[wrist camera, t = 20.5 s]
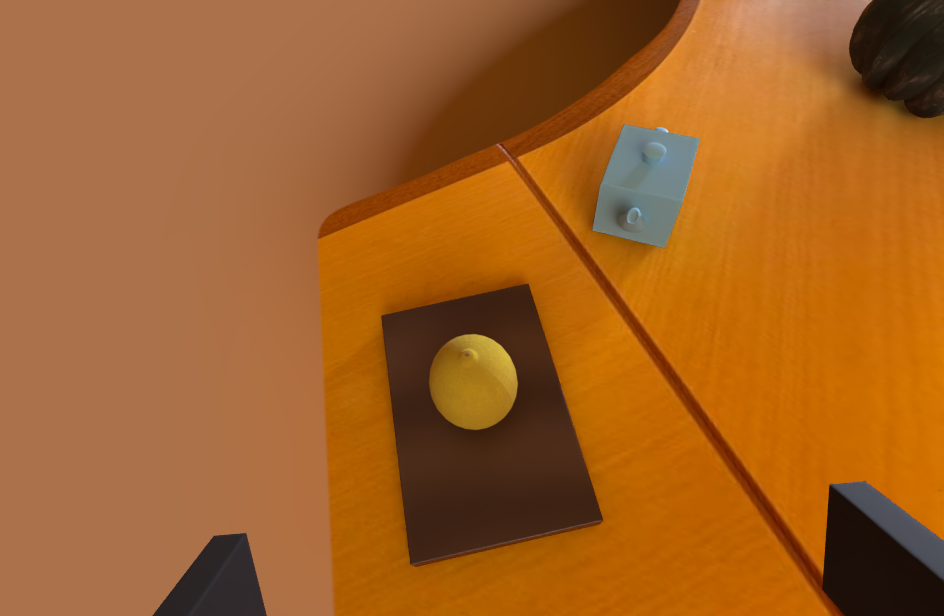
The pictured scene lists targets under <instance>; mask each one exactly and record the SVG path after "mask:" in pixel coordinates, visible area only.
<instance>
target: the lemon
mask: <svg viewBox="0 0 944 616" xmlns="http://www.w3.org/2000/svg"><path fill="white" fill-rule="evenodd" d="M429 386H430V392H431V397H432V399H433V401H434V403H435V405H436V407H437V409H438V411H439V412H440V413H441V414H442V415H443V416H444V417H445V419H447V420H448V421H450V422H451V423H453V424H454V425H456V426H459V427H462V428H465V429H472V430H479V429H484V428H488V427H490V426H492V425H495V424H496V423H498V422H499V421H500V420H502V419H503V418H504V417H505V416H506V415H507V413H508V412H509V411H510V409H511V408H512V406H513V403H514V401H515V398H516V394H517V386H518V381H517V374H516V369H515V367H514V364H513V362H512V360H511V358H510V356H509V355H508V354H507V352H506V351H505V350H504V349H503V347H502V346H501V345H499V344H498V343H497V342H495V341H494V340H492V339H490V338H487V337H485V336H482V335H476V334H471V335H463V336H459V337H456V338H454V339H452V340H451V341H449V342H447V343H446V344H445V345H444V346H443V347H442V348H441V349H440V350H439V352H438V353H437V355H436V356H435V358H434V360H433V363H432V366H431V369H430V377H429Z"/></svg>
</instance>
